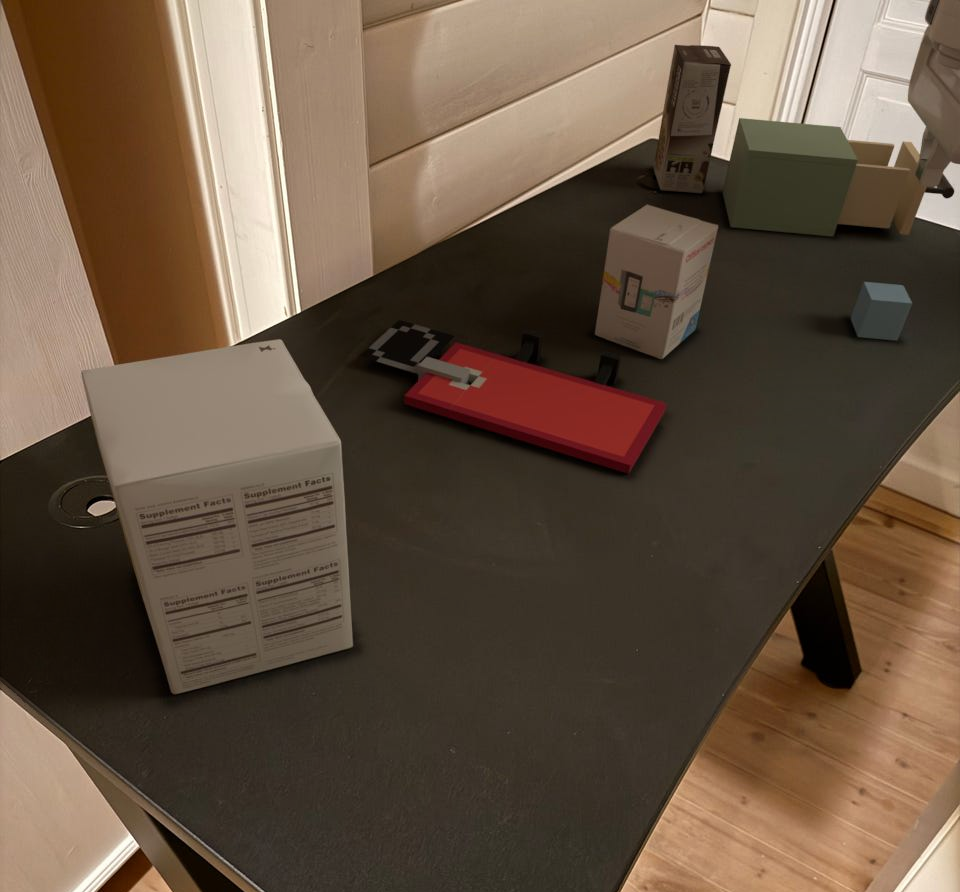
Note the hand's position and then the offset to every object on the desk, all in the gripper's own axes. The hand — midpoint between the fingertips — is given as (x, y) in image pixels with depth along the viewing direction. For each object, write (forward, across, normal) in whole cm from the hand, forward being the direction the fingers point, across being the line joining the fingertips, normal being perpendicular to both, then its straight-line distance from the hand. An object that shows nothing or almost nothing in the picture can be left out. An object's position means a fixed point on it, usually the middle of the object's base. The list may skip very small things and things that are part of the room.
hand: (924, 181), depth 95 cm
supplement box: (+17, -56, +56) cm, 81 cm away
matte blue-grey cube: (+16, -1, 0) cm, 16 cm away
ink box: (+16, -7, +26) cm, 31 cm away
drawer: (+15, +31, -5) cm, 35 cm away
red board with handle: (+16, -22, +39) cm, 48 cm away
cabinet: (+16, +31, +7) cm, 36 cm away
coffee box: (+16, +40, +20) cm, 48 cm away
